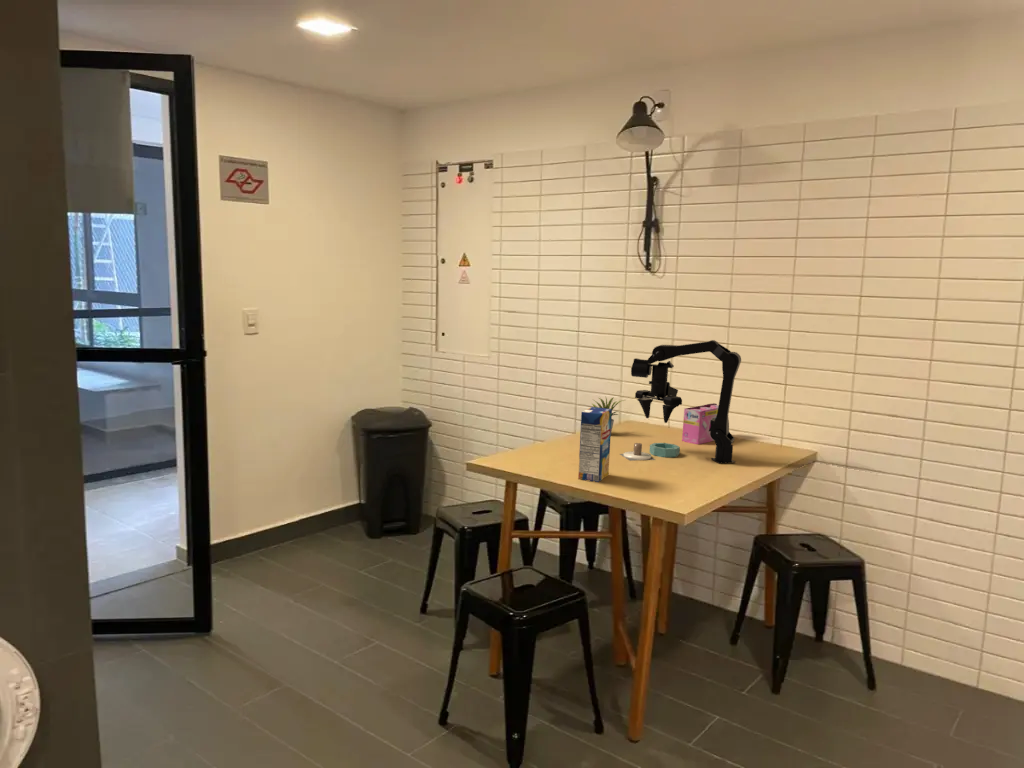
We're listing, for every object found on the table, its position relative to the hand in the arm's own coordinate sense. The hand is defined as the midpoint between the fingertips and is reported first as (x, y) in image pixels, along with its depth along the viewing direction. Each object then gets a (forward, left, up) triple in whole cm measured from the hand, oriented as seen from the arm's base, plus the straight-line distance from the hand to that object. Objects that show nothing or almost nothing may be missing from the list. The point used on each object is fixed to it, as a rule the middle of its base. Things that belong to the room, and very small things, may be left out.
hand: (656, 420), depth 283 cm
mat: (-7, +10, -12) cm, 17 cm away
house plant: (+34, +6, -13) cm, 37 cm away
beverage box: (-30, +35, -13) cm, 48 cm away
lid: (-7, +10, -12) cm, 17 cm away
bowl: (-4, -2, -12) cm, 13 cm away
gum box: (+21, -32, -13) cm, 40 cm away
